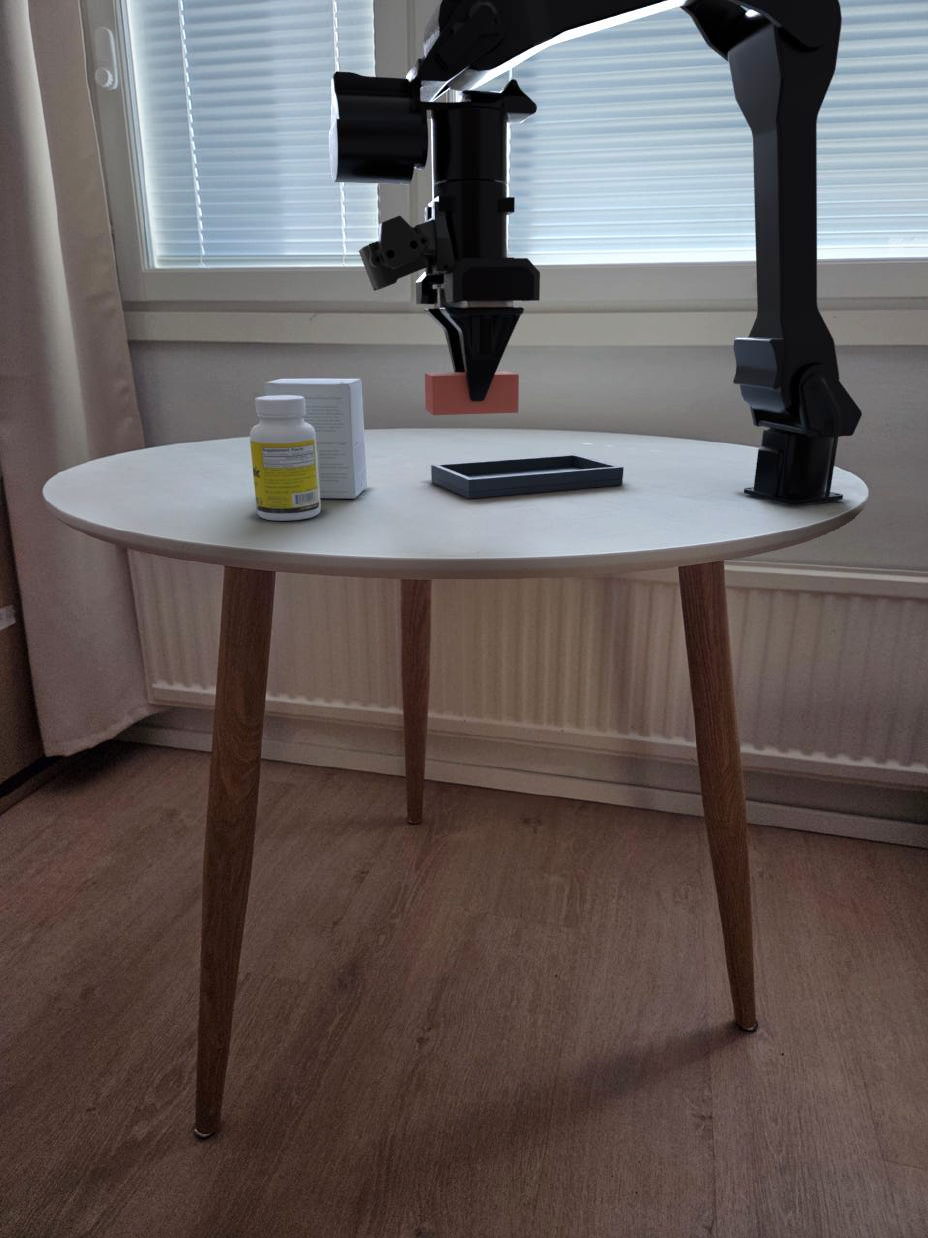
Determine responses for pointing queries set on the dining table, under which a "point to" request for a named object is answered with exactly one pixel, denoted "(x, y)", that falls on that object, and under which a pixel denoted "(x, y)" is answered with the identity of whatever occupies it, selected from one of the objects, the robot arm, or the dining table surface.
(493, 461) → the tray
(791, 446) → the robot arm
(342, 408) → the small box
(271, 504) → the supplement bottle
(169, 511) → the dining table surface
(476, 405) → the brick
